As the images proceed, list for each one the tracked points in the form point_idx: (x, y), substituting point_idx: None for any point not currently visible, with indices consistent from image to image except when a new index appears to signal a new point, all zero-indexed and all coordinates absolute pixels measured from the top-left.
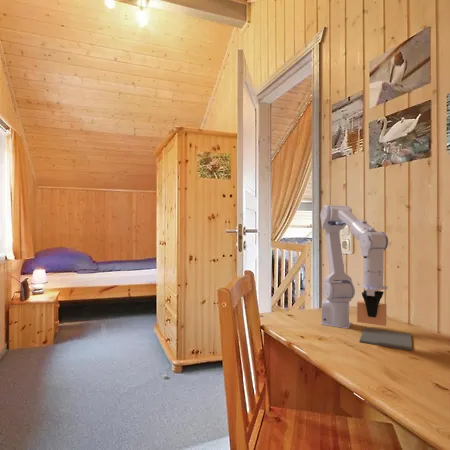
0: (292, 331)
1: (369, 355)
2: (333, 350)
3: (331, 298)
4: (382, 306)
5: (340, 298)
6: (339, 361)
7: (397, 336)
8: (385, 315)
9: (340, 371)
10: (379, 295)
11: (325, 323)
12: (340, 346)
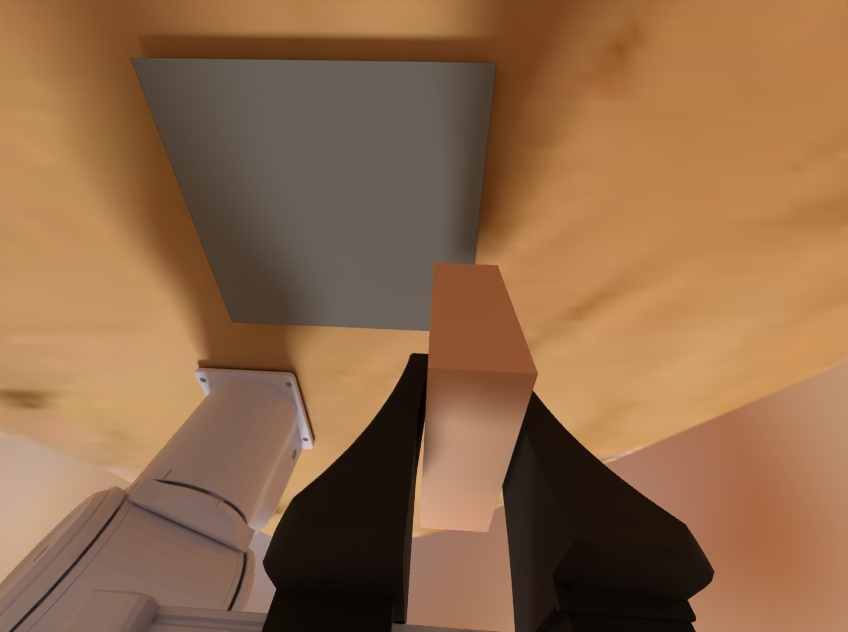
0: None
1: (628, 284)
2: (599, 392)
3: (247, 551)
4: (526, 390)
5: (207, 530)
6: (718, 370)
7: (276, 158)
8: (511, 309)
9: (823, 361)
10: (651, 577)
11: (301, 439)
12: (544, 378)
